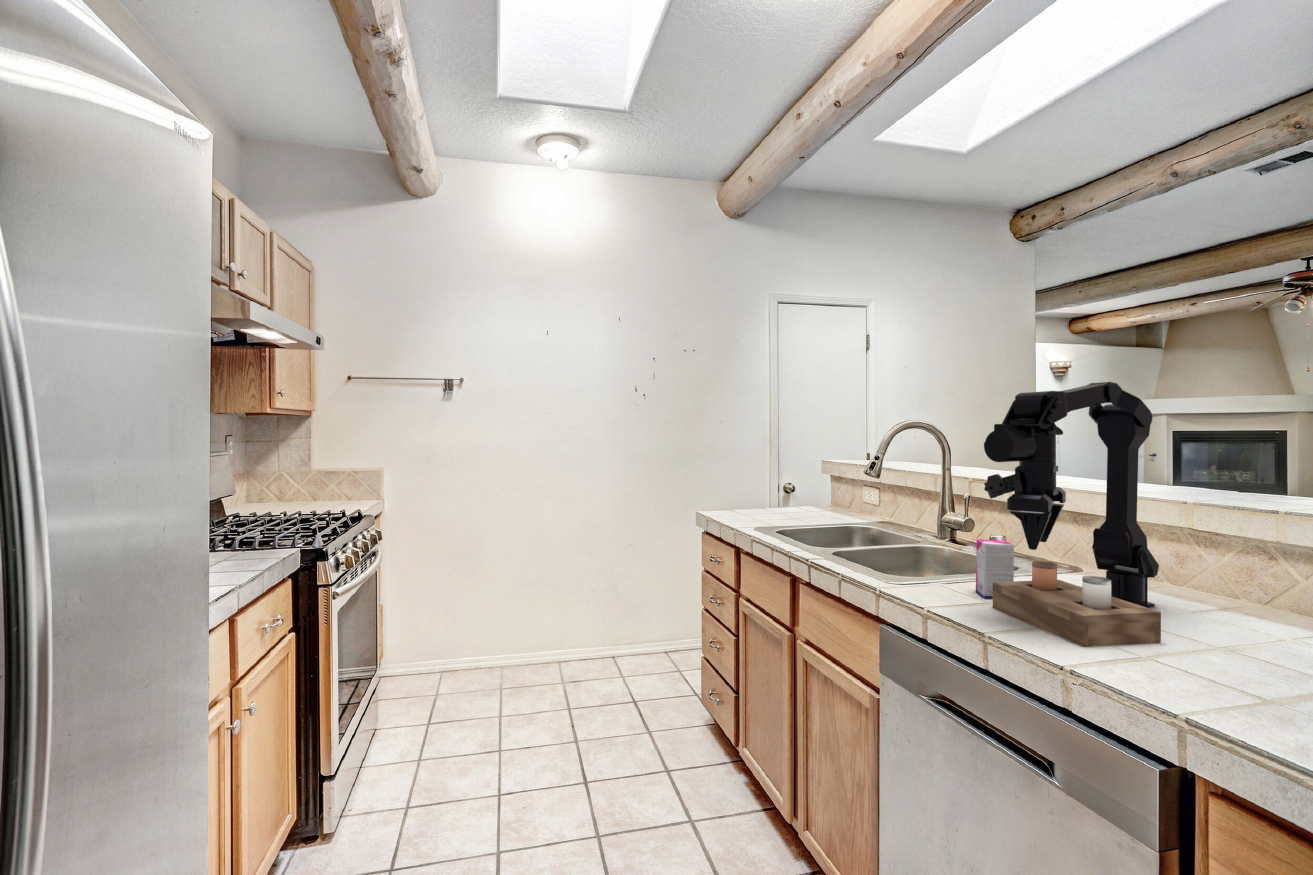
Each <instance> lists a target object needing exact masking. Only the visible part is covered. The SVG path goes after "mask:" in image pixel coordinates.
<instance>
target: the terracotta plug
mask: <svg viewBox="0 0 1313 875" xmlns="http://www.w3.org/2000/svg"><path fill="white" fill-rule="evenodd" d="M1031 579H1032V580H1031V581H1032V588H1035V589H1037V590H1040V591H1057V580H1058V564H1057V563H1054V562H1050V561H1049V562H1048V561H1042V560H1041V561H1036V560H1035V561H1032V563H1031Z"/></svg>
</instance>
